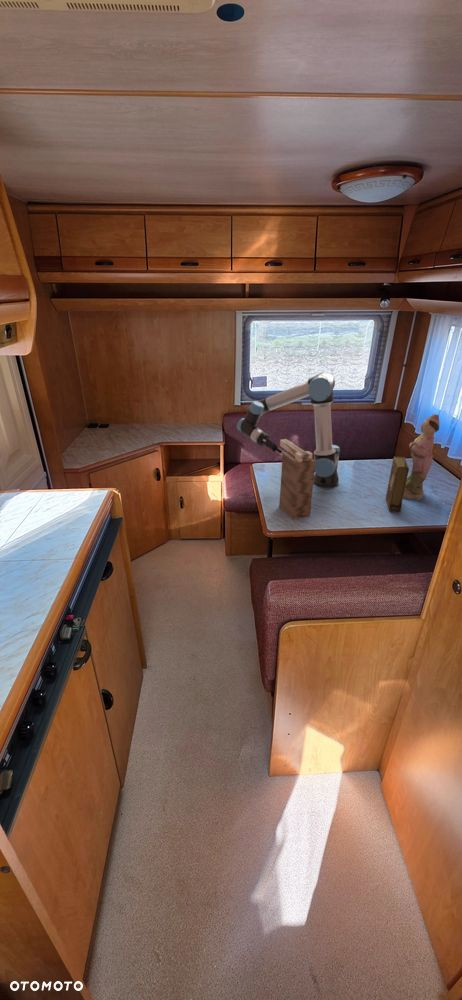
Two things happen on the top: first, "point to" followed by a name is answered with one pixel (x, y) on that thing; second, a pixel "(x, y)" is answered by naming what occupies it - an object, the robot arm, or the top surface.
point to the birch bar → (296, 451)
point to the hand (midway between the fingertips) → (289, 458)
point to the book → (397, 483)
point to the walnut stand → (296, 486)
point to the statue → (421, 458)
